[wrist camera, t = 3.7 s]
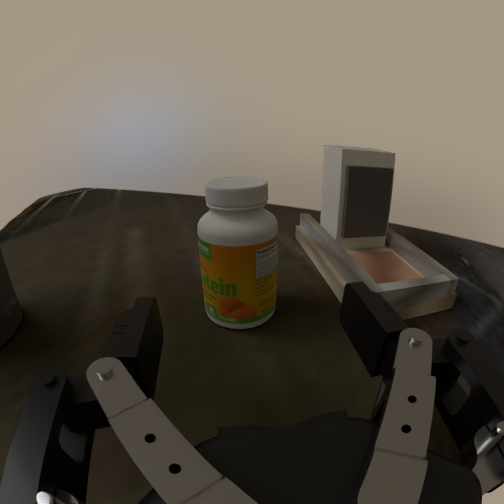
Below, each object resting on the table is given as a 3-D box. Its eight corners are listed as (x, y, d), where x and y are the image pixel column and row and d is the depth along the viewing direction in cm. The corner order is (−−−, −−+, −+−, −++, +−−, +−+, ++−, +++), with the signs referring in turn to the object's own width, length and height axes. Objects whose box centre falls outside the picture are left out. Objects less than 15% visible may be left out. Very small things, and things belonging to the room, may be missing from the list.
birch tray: (357, 328, 19) (365, 293, 18) (295, 237, 36) (296, 213, 34) (452, 307, 20) (462, 277, 19) (366, 233, 37) (368, 212, 35)
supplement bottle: (191, 312, 22) (176, 185, 18) (236, 284, 25) (231, 172, 21) (246, 341, 19) (242, 194, 15) (288, 304, 22) (294, 179, 18)
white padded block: (337, 252, 28) (344, 149, 23) (319, 233, 32) (323, 145, 28) (387, 249, 28) (398, 154, 24) (365, 231, 33) (372, 148, 29)
